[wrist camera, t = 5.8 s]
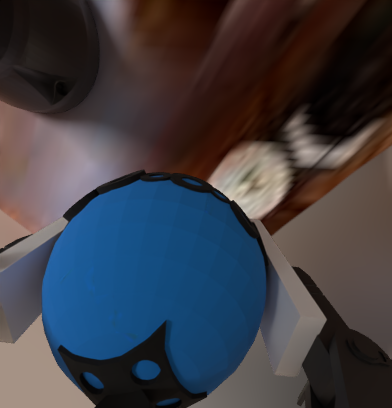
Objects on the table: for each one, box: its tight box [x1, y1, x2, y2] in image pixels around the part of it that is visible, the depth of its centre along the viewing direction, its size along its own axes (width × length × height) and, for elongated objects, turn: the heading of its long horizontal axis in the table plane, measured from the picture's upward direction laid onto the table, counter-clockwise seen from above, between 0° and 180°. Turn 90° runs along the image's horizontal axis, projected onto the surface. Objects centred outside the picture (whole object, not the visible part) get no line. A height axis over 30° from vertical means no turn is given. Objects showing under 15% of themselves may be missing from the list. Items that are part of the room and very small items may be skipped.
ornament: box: [42, 170, 269, 408], centre depth 7 cm, size 9×9×10 cm
